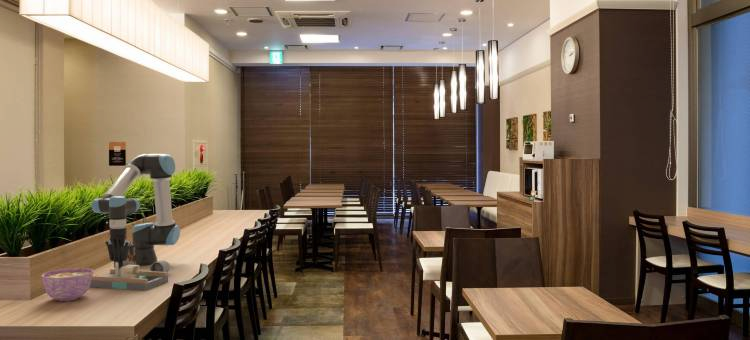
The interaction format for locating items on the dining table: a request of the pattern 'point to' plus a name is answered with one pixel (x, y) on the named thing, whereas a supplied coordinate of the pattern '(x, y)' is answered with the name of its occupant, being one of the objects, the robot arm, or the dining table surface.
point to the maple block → (130, 271)
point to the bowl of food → (67, 283)
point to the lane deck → (130, 280)
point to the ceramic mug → (160, 266)
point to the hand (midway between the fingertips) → (118, 274)
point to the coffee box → (131, 256)
